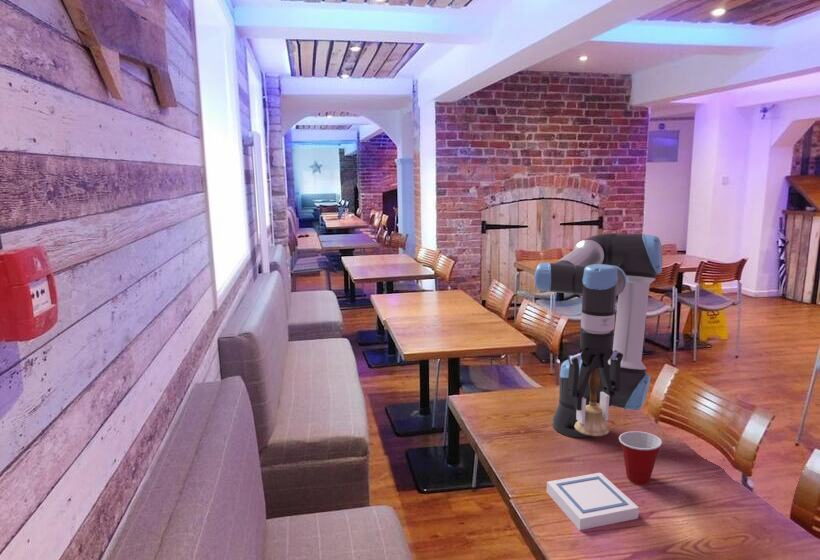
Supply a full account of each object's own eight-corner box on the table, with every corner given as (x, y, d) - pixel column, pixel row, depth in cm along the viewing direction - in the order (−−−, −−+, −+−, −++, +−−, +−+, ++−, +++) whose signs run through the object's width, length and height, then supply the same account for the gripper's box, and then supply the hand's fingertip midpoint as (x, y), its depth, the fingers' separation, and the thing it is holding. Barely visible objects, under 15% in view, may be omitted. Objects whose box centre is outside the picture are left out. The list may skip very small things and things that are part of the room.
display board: (599, 482, 146) (600, 471, 145) (638, 518, 131) (638, 506, 130) (546, 491, 142) (546, 481, 141) (579, 530, 127) (580, 518, 126)
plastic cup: (626, 463, 155) (629, 425, 153) (665, 477, 147) (668, 437, 145) (609, 478, 148) (611, 438, 145) (649, 494, 140) (652, 452, 138)
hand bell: (569, 421, 136) (572, 362, 133) (601, 420, 137) (604, 361, 134) (581, 437, 128) (585, 374, 125) (615, 435, 129) (619, 373, 126)
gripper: (569, 337, 122) (565, 431, 127) (641, 330, 126) (634, 422, 131) (553, 328, 129) (550, 417, 134) (622, 322, 133) (616, 409, 138)
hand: (591, 419), depth 132 cm, fingers closed on hand bell, 6 cm apart
